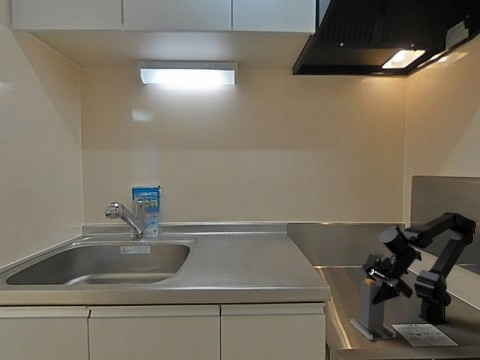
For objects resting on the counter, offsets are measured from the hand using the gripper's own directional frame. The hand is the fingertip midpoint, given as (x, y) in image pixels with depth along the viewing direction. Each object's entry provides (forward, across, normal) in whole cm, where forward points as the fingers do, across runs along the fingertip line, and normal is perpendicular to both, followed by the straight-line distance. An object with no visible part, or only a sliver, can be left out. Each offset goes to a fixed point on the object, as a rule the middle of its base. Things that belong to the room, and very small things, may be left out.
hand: (368, 300), depth 99 cm
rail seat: (+6, 0, +8) cm, 10 cm away
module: (+5, 0, +6) cm, 8 cm away
